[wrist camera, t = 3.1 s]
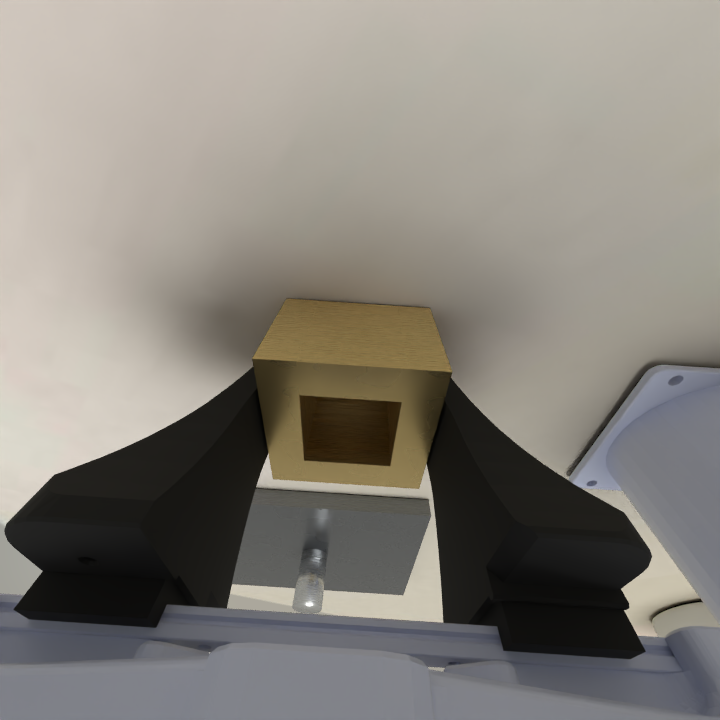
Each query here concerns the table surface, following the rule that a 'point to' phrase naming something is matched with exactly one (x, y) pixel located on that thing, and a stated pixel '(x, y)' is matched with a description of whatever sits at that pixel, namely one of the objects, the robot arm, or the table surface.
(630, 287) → the table surface
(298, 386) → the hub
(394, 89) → the table surface
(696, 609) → the pill bottle
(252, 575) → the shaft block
